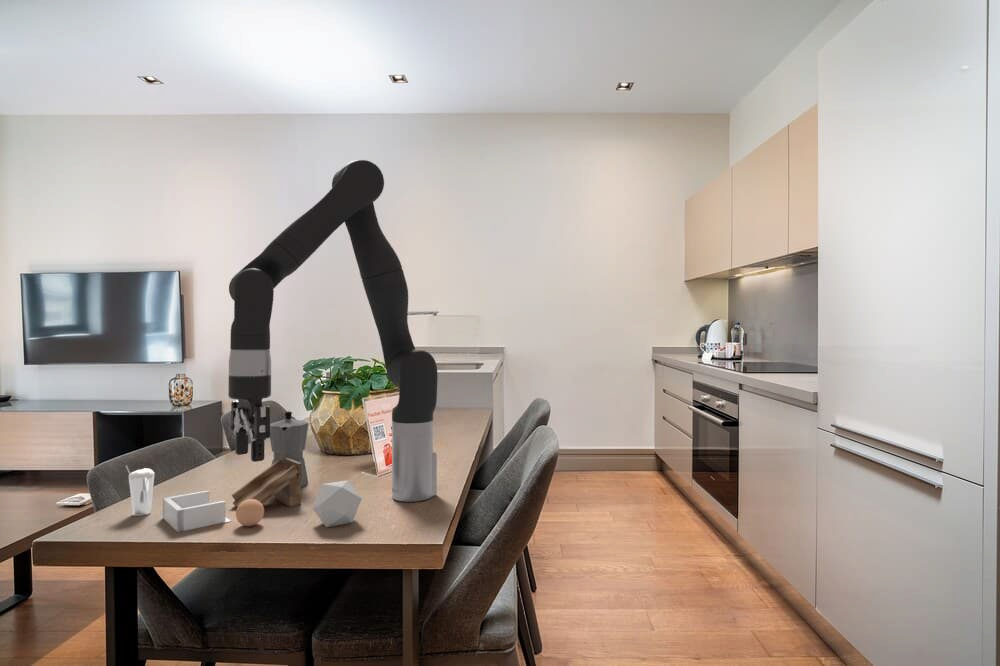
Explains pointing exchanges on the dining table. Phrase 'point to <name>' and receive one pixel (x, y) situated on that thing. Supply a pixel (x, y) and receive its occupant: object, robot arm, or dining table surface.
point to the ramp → (274, 484)
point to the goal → (193, 511)
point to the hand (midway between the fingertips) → (249, 457)
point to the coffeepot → (289, 441)
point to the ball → (250, 512)
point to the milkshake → (141, 491)
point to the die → (336, 503)
